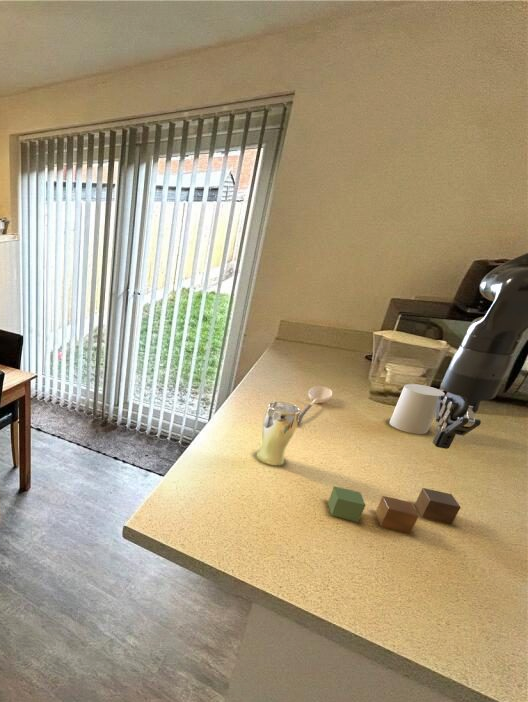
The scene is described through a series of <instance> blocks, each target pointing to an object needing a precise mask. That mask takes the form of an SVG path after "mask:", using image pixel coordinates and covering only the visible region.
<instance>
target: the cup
mask: <svg viewBox="0 0 528 702" xmlns="http://www.w3.org/2000/svg"><path fill="white" fill-rule="evenodd" d="M438 396H445V391H444V390H442V389H441V390H440V389H438V388H436V387H432V386H430V385H429V386H428V385H424V384H418V383H406V384H404V386H403V388H402V391H401V394H400V396H399V398H398V400H397V402H396V405H395V408H394V409H393V412H392V414H391V417H390V420H389V425H390V426H392V427H393V428H394V429H397V430H400V431H402V432H406V433H409V434H415V435H416V434H417V435H423V434H427V433H428V431H429V429H430V427H431V424H432V423H433V421H434V418H435V417H436V411H437V400H438Z"/></svg>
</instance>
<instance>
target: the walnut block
mask: <svg viewBox="0 0 528 702" xmlns="http://www.w3.org/2000/svg"><path fill="white" fill-rule="evenodd" d="M414 507H415V509H416V511H417V512H418V513H419V515H420V517H421V518H423V519H427V520H431V521H436V522H437V523H443V524H447V525H452V524H453V523H454V521H455V519H456V517H457V515H458V513H459V511H460V509H461V508H462V507H461V506H460V504H459V502H458V501H457V499H455V497H454V496H453V494H452V493H447V492H443V491H438V490H434V489H429V488H426V487H422V488H421V491H420V493H419V495H418V496H417V498H416V501H415V503H414Z"/></svg>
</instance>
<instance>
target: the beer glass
mask: <svg viewBox="0 0 528 702" xmlns="http://www.w3.org/2000/svg"><path fill="white" fill-rule="evenodd" d="M300 414H301V409H300V407H298V406H297V405H295V404H292V403H289V402H285V401H271V402H269V403H268V406H267V409H266V411H265V414H264V418H263V422H262V433H261V443H260V447H259V448H258V451H257V452H256V458H257V459H258V460H259V461H260V462H262V463H264V464H267V465H270V466H281V465H283V464H284V463H285V455H286V454H285V453H286V450H287V447H288V445H289V444H290V442H291V440H292V438H293V437H294V435H295V434H296V433H295V432H296V430H297V428H298V425H299V424H298V421H299V415H300ZM297 424H298V425H297Z"/></svg>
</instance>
